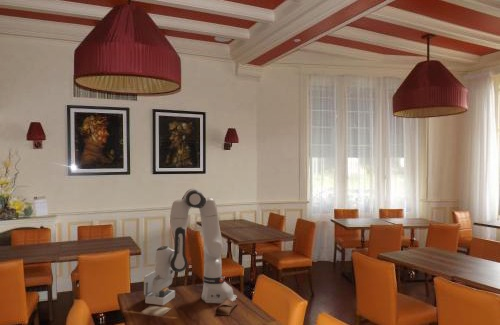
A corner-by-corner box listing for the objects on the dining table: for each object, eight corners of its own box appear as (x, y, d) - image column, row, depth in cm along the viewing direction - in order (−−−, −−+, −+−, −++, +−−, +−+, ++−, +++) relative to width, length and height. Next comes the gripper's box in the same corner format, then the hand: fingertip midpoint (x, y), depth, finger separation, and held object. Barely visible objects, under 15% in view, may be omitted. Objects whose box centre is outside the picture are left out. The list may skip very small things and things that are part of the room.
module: (168, 299, 241) (168, 287, 241) (164, 302, 236) (164, 290, 236) (159, 298, 243) (159, 286, 243) (155, 300, 238) (155, 289, 238)
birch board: (171, 309, 227) (171, 308, 227) (163, 316, 217) (163, 314, 217) (150, 307, 231) (150, 305, 231) (141, 313, 221) (141, 311, 221)
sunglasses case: (229, 315, 219) (224, 304, 219) (219, 320, 220) (214, 309, 221) (238, 303, 236) (233, 293, 237) (228, 308, 238) (223, 298, 238)
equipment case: (174, 298, 245) (175, 271, 245) (163, 307, 231) (163, 278, 231) (156, 296, 249) (156, 269, 249) (143, 304, 234) (144, 276, 234)
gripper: (158, 278, 229) (158, 302, 229) (174, 269, 248) (174, 291, 248) (148, 277, 230) (148, 300, 230) (165, 268, 250) (165, 290, 250)
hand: (161, 295), depth 240 cm, fingers open, 8 cm apart
